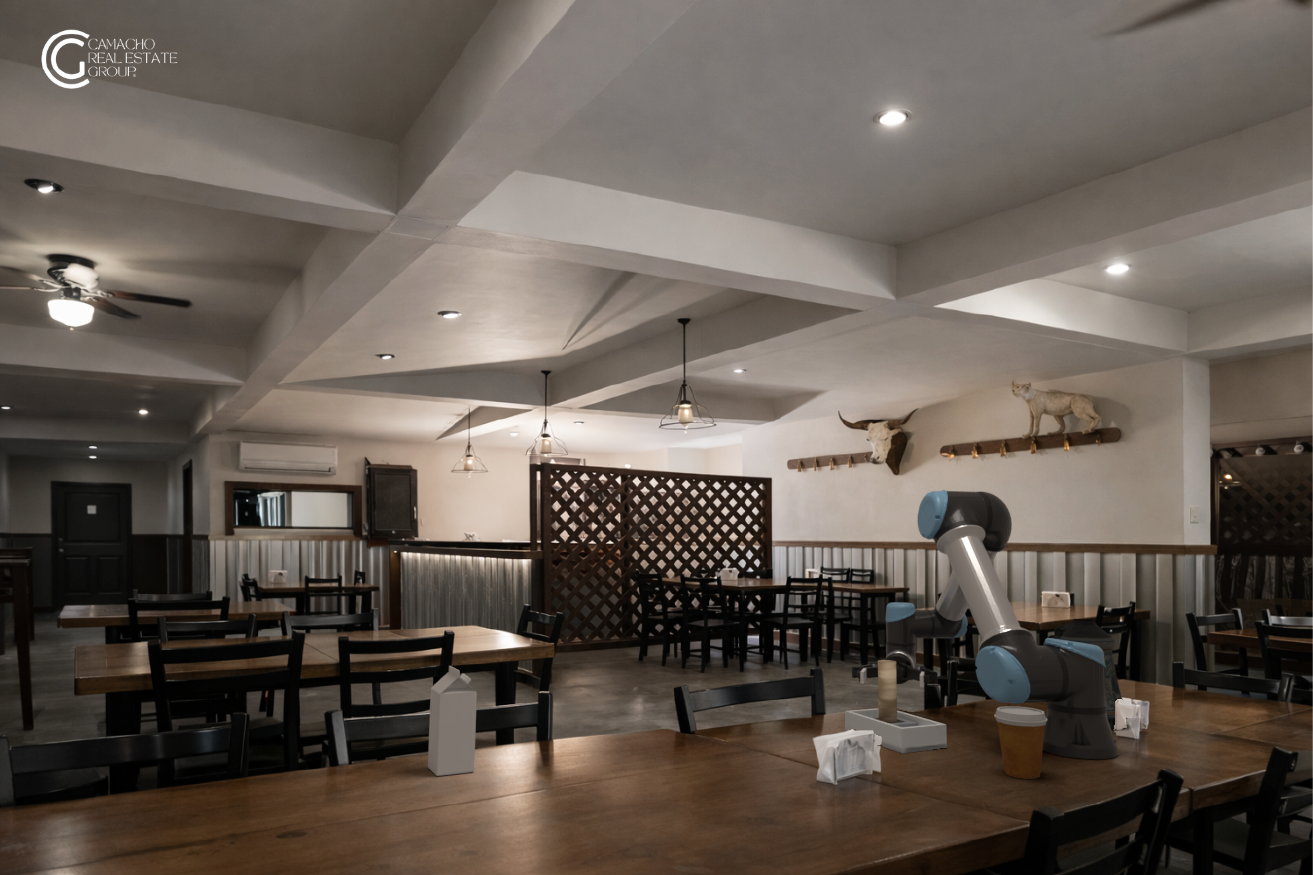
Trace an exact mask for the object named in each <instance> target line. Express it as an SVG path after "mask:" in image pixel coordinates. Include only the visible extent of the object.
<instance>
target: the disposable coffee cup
mask: <svg viewBox="0 0 1313 875" xmlns="http://www.w3.org/2000/svg"><path fill="white" fill-rule="evenodd" d="M994 719H995V720H996V722H997V723H996V724H997V730H998V737H999V742H1000V751H1001V756H1002V763H1003V768H1004V774H1005V775H1007V776H1009V777H1013V778H1016V779H1023V780H1024V779H1025V780H1029V779H1031V780H1032V779H1038V778H1040V777H1041V770H1042V760H1043V751H1044V750H1043V740H1044V730H1045V725H1046V722H1047V718H1046V713H1045V711H1044V710H1041V709H1038V708H1033V707H1027V706H1015V705H1014V706H999V707H997V708H996V711H995V713H994Z"/></svg>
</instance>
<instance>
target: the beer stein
mask: <svg viewBox="0 0 1313 875" xmlns="http://www.w3.org/2000/svg"><path fill="white" fill-rule="evenodd" d="M1047 638H1052V639H1060V640H1067V641H1074V642H1080V643H1086V644H1092V645H1096V646H1099V647H1100V648H1101V649H1102V650H1103V653H1104V662H1105V665H1106V668H1105V684H1106V712H1107V719H1108V722H1109V724H1110V727H1111V730H1112V731H1114V730H1113V729H1114V725H1115V701H1116V700H1117V699H1122V700H1123V696H1122V693H1121V690H1120V686H1119V681H1118V678H1117V672H1116V666H1115V661H1114V655H1113V648H1114V647H1115V639H1114V638H1113V637H1112V636H1111V635H1110V634H1109V633H1108V632H1106V630H1103V629H1102V628H1101V627H1100V626H1099V625H1098V624H1097V623H1096V621H1095V619H1088V618H1087V619H1085V618H1084V619H1083V618H1074V619H1072V620H1071V622H1069V623H1063V624H1062V623H1061V624H1058V625H1057V626H1056V627H1055V629H1054V630H1053V634H1049V636H1047ZM1042 646H1044V644H1043V645H1042Z"/></svg>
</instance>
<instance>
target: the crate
mask: <svg viewBox="0 0 1313 875" xmlns="http://www.w3.org/2000/svg"><path fill="white" fill-rule="evenodd" d="M851 729H856V730H873V731H874V733H875V734H876V735H878V736H881V737H882V746H881V747H883V748H886V749H887V750H888V749H889V750H892V751H894V752H896V753H899V754H908V753H914V752H915V753H916V752H927V750H928V751H934V750H933V749H937V750H941V749H940V748H947V747H948V744H947V740H948V739H947V734H948V733H947V724H945V723H942V722H939V721H934V720H932V719H928V718H926V717H925V718H924V717H921V716H918V715H914V714H911V713H907V712H904V711H901V710H897V723H886V722H883V721H880V720H879V707H878V708H868V709H865V708H864V709H856V710H854V709H852V710H845V711H844V732H845V731H847V730H851Z"/></svg>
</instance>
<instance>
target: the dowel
mask: <svg viewBox="0 0 1313 875" xmlns="http://www.w3.org/2000/svg"><path fill="white" fill-rule="evenodd" d="M877 666H878V677H877V685H878V686H877V690H878V696H877V697H878V699H877V700H878V701H877V703H878V708H879V720H880V721H883V722H886V723H897V711H898V698H897V697H898V696H897V694H898V693H897V688H898V687H897V686H898V684H896V661H891V660H885V659H881V660H877Z"/></svg>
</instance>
